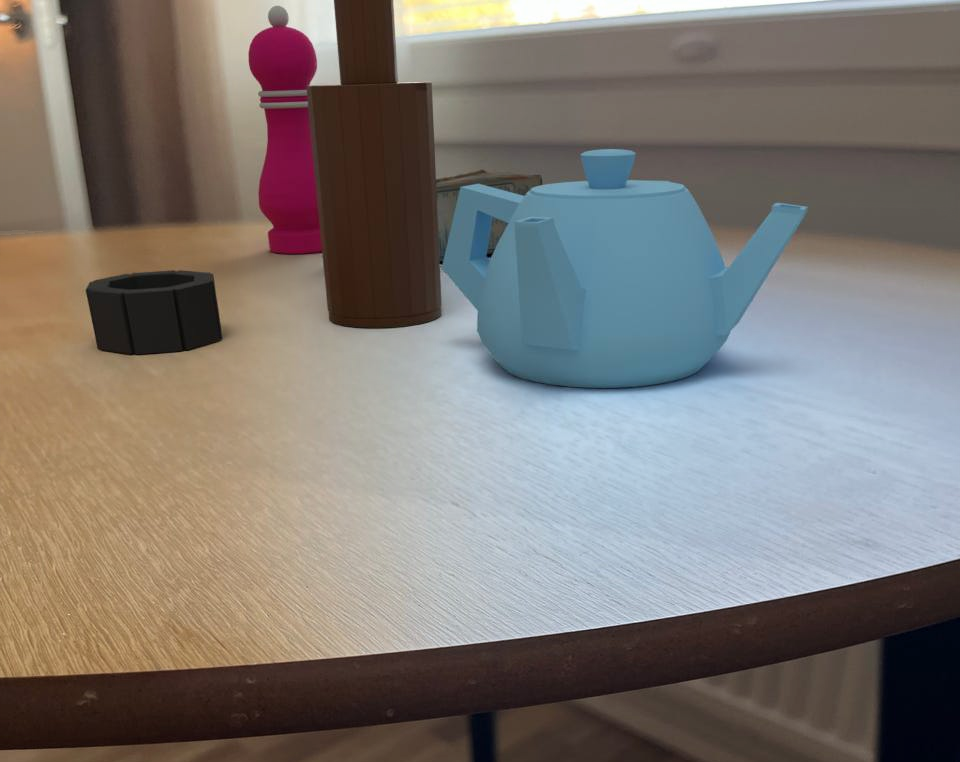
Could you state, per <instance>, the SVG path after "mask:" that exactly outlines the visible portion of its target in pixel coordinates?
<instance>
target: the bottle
mask: <svg viewBox="0 0 960 762" xmlns="http://www.w3.org/2000/svg"><path fill="white" fill-rule="evenodd" d="M394 5H395V4H394V0H333V7H334V8H333V10H334V21H335V32H336V45H337V55H338V56H337V57H338V58H337V59H338V66H339V67H338V69H339V70H338V71H339V82H340V83H339V84H314V85H310V86H306V88H307V99H308V109H309V119H310V130H311V140H312V151H313V161H314V171H315V182H316V192H317V203H318V213H319V223H320V234H321V244H322V252H321V253H322V254H321V255H322V263H323V275H324V284H325V286H324V287H325V293H326V306H327V311H328V318H329V321H330V322H332V323H333V324H336V325H340V326H343V327H350V328H362V329H383V328H384V329H385V328H387V329H388V328H400V327H409V326H414V325H420V324H424V323H429V322H432V321H434V320H437V319H438V318H440V317H441V315H442V286H441V285H442V284H441V263H440V262H441V261H440V259H439V237H438V214H437V191H436V179H437V171H436V169H437V168H436V152H435V151H436V149H435V125H434V124H435V122H434V101H433V83H432V81H406V82H404V81H403V82H402V81H401V82H399V77H398V61H397V60H398V59H397V41H396V25H395V8H394V7H395V6H394Z"/></svg>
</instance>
